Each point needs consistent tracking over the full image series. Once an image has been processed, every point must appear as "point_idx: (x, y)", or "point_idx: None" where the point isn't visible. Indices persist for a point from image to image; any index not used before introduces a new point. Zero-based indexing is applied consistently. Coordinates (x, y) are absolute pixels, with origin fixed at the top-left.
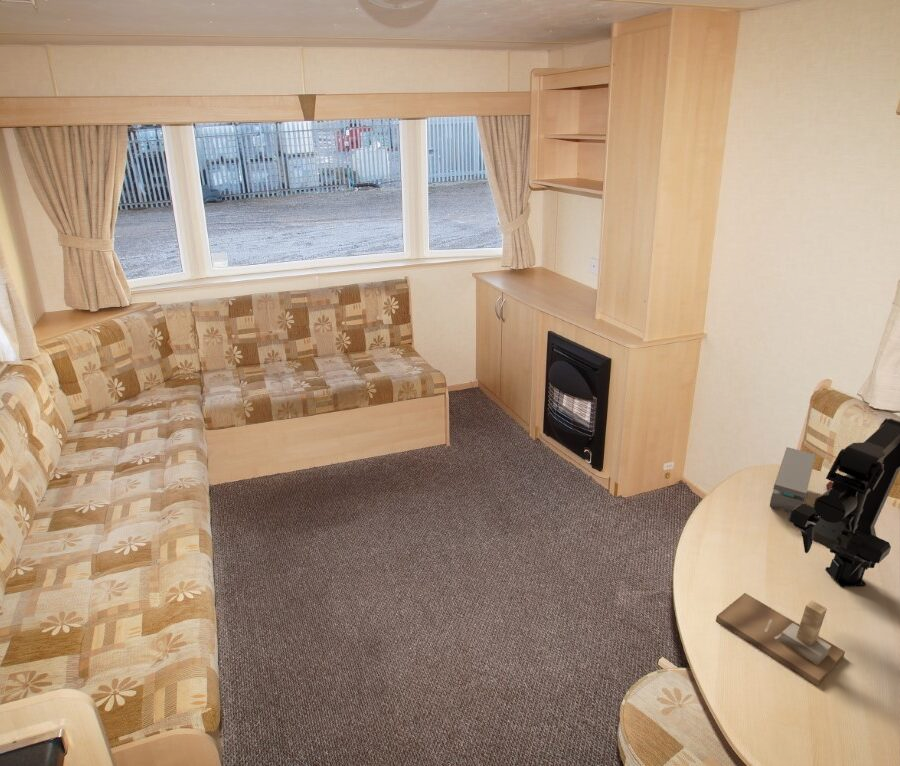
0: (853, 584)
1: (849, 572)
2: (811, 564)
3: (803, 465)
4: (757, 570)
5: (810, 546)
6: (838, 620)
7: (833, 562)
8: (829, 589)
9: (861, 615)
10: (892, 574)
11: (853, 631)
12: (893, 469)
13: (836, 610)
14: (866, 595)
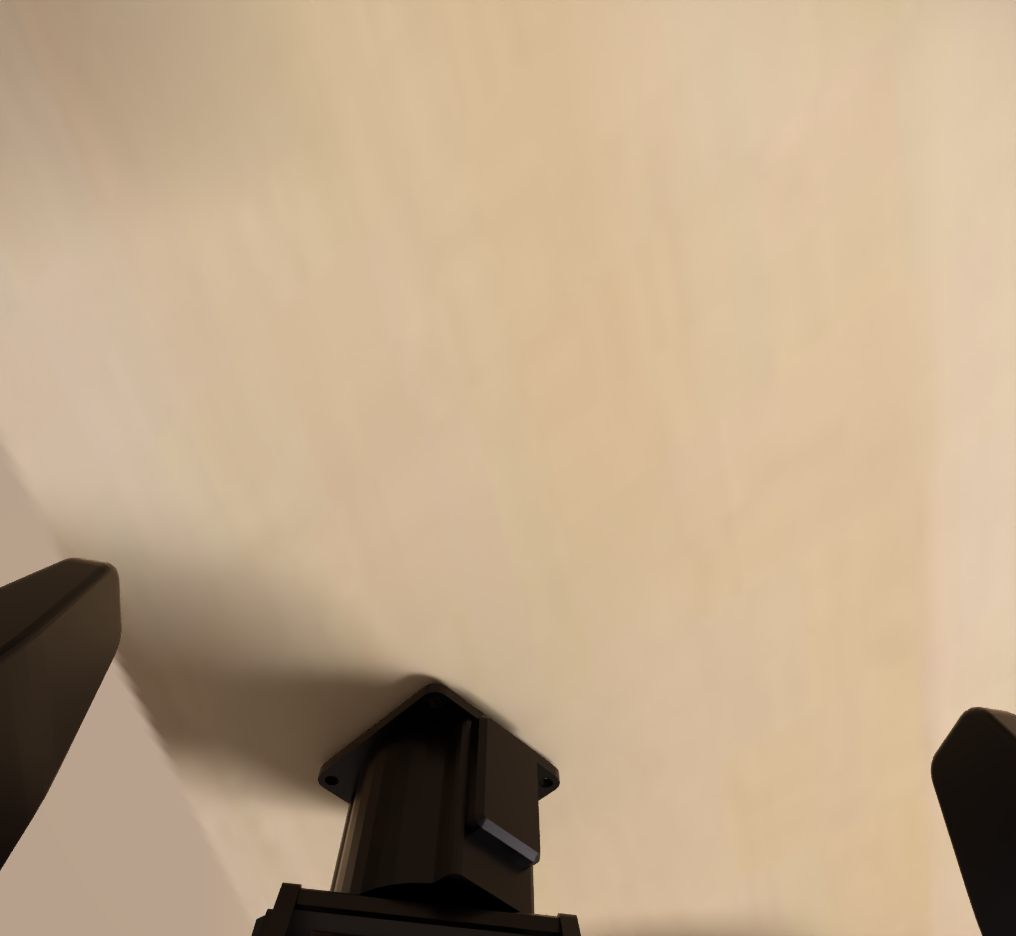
0: (375, 737)
1: (44, 598)
2: (641, 766)
3: None
4: (994, 494)
5: (998, 898)
6: (331, 316)
7: (525, 835)
8: (487, 614)
9: (230, 490)
10: (250, 918)
11: (196, 259)
12: None
13: (381, 427)
14: (285, 696)
